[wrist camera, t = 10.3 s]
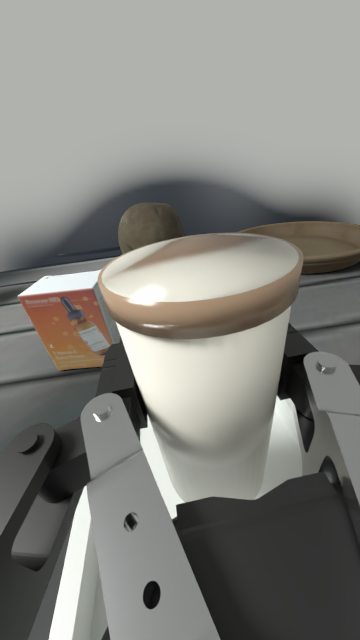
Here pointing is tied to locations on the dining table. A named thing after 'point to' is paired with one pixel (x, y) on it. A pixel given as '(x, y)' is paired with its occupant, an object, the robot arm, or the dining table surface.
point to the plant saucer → (318, 243)
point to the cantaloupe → (148, 226)
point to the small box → (71, 319)
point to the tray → (81, 558)
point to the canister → (207, 350)
